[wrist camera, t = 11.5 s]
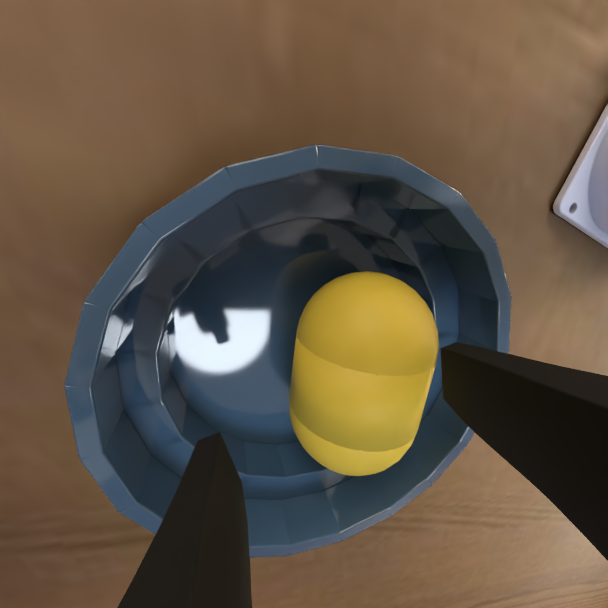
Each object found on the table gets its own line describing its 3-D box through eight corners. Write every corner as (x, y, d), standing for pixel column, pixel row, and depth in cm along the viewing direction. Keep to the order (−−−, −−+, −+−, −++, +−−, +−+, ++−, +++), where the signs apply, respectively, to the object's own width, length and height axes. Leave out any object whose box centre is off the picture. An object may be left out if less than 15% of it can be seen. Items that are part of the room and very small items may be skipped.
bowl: (478, 245, 15) (576, 259, 11) (363, 473, 18) (406, 551, 14) (178, 91, 10) (150, 7, 6) (84, 450, 13) (21, 567, 9)
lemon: (347, 257, 14) (467, 281, 11) (324, 401, 16) (419, 451, 13) (273, 263, 10) (435, 303, 7) (257, 455, 12) (373, 544, 9)
